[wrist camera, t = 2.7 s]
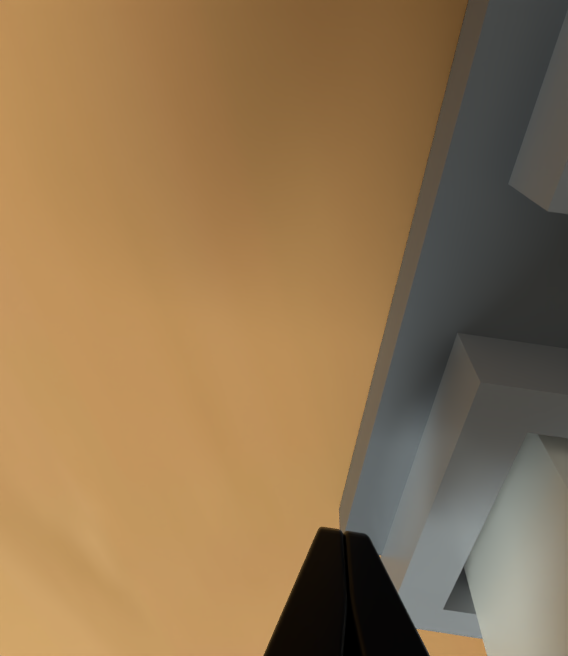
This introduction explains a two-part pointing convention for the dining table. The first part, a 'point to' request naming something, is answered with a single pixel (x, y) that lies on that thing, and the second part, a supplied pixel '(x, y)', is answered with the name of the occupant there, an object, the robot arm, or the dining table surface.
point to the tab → (525, 556)
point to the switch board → (471, 313)
